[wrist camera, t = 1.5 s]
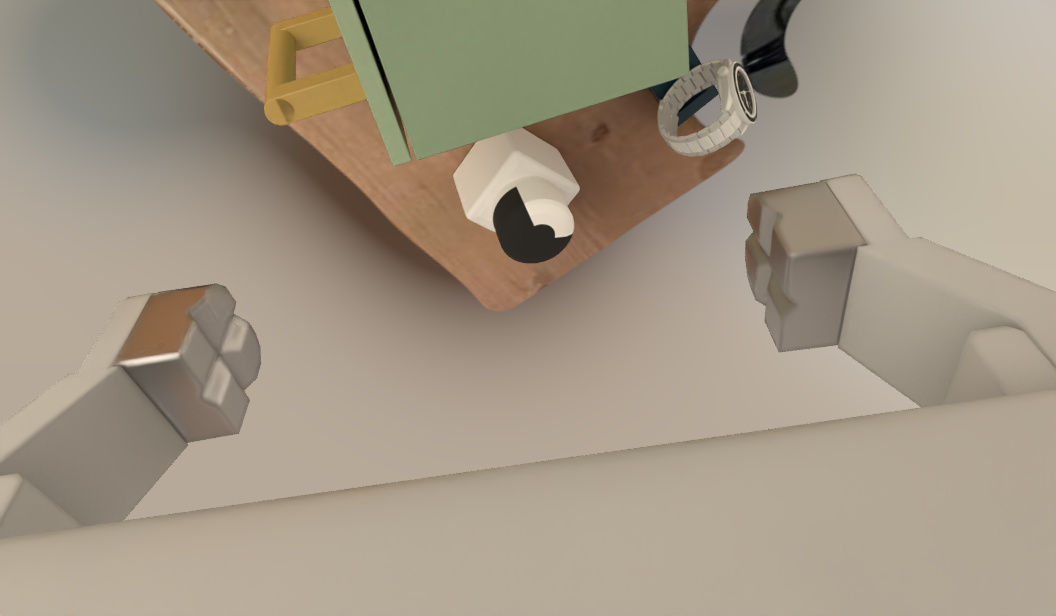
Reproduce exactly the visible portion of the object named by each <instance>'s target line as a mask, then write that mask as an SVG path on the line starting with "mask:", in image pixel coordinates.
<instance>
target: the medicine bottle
mask: <svg viewBox="0 0 1056 616" xmlns="http://www.w3.org/2000/svg"><path fill="white" fill-rule="evenodd" d="M453 178H454V181H455V184H456V187H457V190H458V193H459V196H460V199H461V202H462V205H463V208H464V212H465V215H466V217H467V218H468V219H469V220H471V221H473V222H475V223H477V224H479V225H481V226H483V227H485V228H487V229H489V230H491V231H493V232H495V233H496V234H497V236H498V239H499V241H500V244H501V247H502V249H503V250H504V252H505V253H506V254H507V255H508V256H509V257H510V258H512V259H514V260H516V261H518V262H522V263H539V262H544V261H547V260H549V259H551V258H553V257H555V256H556V255H557V254H559V253H560V252H561V251H562V250H563V249H564V248H565V247H566V246H567V244H568V243H569V241H570V240H571V237H572V235H573V231H574V220H573V216H572V214H571V212H570V210H569V209H568V207H567V206H568V204H569V203H570V202H571V201H572V199H573V198H574V197H575V196H576V194H577V193H578V192H579V190H580V187H579V185H578V183H577V182H576V180H575V178H574V177H573V175H572V173H571V171H570V170H569V168H568V166H567V165H566V163H565V161H564V160H563V158H562V156H561V154H560V153H559V151H558V150H557V149H556V148H555V147H553V146H551V145H550V144H548V143H546V142H545V141H543V140H541V139H540V138H538V137H536V136H535V135H533V134H532V133H530V132H528V131H527V130H525V129H523V128H519V129H515V130H512V131H509V132H506V133H503V134H500V135H496V136H493V137H490V138H487V139H484V140H480V141H477V142H476V143H475V144H474V146H473V147H472V149H471V150H470V151H469V153H468V154H467V156H466V157H465V158H464V160H463V161H462V163H461V164H460V166H459V167H458V168H457V170H456V171H455V173H454V174H453Z"/></svg>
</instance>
